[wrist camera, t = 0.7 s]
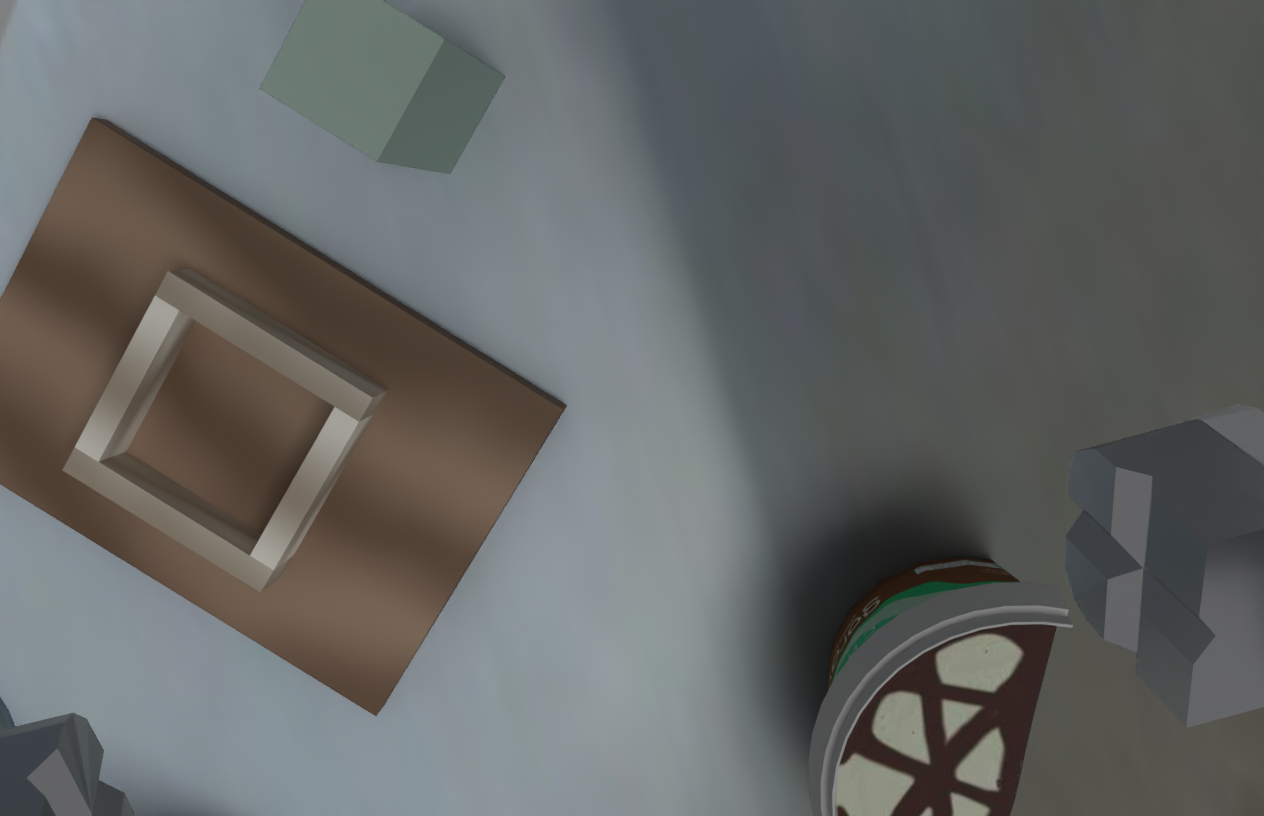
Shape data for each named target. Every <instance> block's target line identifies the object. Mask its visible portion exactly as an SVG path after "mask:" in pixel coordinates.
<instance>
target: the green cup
mask: <svg viewBox="0 0 1264 816" xmlns="http://www.w3.org/2000/svg"><path fill="white" fill-rule="evenodd" d="M12 727H15V726H14V723H13V720H12V718H11V716H10V713H9V711H8V709H7V708H6V706H5V704H4V703H3V701H2V699H1V698H0V730H4V729H8V728H12Z"/></svg>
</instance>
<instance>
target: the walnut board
mask: <svg viewBox="0 0 1264 816" xmlns="http://www.w3.org/2000/svg"><path fill="white" fill-rule="evenodd" d="M566 406H567V405H565V404H564V403H562V402H560V401H559V400H557V399H555V398H554V397H552V396H551V395H549V394H547V393H546V392H544V391H543V390H541V389H539V388H538V387H536V386H534V385H533V384H531V383H530V382H528V381H526V380H525V379H523V378H522V377H520V376H518V375H517V374H515V373H514V372H512V371H510V370H509V369H507V368H505V367H504V366H502V365H501V364H499V363H497V362H496V361H494V360H493V359H491V358H489V357H488V356H486V355H484V354H483V353H481V352H480V351H478V350H476V349H475V348H473V347H472V346H470V345H468V344H467V343H465V342H463V341H462V340H460V339H459V338H457V337H455V336H454V335H452V334H451V333H449V332H447V331H446V330H444V329H443V328H441V327H439V326H438V325H436V324H434V323H433V322H431V321H430V320H428V319H426V318H425V317H423V316H422V315H420V314H418V313H417V312H415V311H413V310H412V309H410V308H409V307H407V306H405V305H404V304H402V303H401V302H399V301H397V300H396V299H394V298H393V297H391V296H389V295H388V294H386V293H384V292H383V291H381V290H380V289H378V288H376V287H375V286H373V285H372V284H370V283H368V282H367V281H365V280H363V279H362V278H360V277H359V276H357V275H355V274H354V273H352V272H351V271H349V270H347V269H346V268H344V267H343V266H341V265H339V264H338V263H336V262H334V261H333V260H331V259H330V258H328V257H326V256H325V255H323V254H322V253H320V252H318V251H317V250H315V249H313V248H312V247H310V246H309V245H307V244H305V243H304V242H302V241H301V240H299V239H297V238H296V237H294V236H292V235H291V234H289V233H288V232H286V231H284V230H283V229H281V228H280V227H278V226H276V225H275V224H273V223H272V222H270V221H268V220H267V219H265V218H263V217H262V216H260V215H259V214H257V213H255V212H254V211H252V210H251V209H249V208H247V207H246V206H244V205H242V204H241V203H239V202H238V201H236V200H234V199H233V198H231V197H230V196H228V195H226V194H225V193H223V192H222V191H220V190H218V189H217V188H215V187H213V186H212V185H210V184H209V183H207V182H205V181H204V180H202V179H201V178H199V177H197V176H196V175H194V174H192V173H191V172H189V171H188V170H186V169H184V168H183V167H181V166H180V165H178V164H176V163H175V162H173V161H171V160H170V159H168V158H167V157H165V156H163V155H162V154H160V153H159V152H157V151H155V150H154V149H152V148H151V147H149V146H147V145H146V144H144V143H142V142H141V141H139V140H138V139H136V138H134V137H133V136H131V135H130V134H128V133H126V132H125V131H123V130H121V129H120V128H118V127H117V126H115V125H113V124H112V123H110V122H109V121H107V120H103V119H97V118H91V120H90V122H89V124H88V126H87V128H86V130H85V132H84V134H83V136H82V138H81V140H80V142H79V144H78V146H77V148H76V150H75V152H74V154H73V156H72V158H71V160H70V162H69V164H68V166H67V168H66V170H65V172H64V174H63V176H62V178H61V180H60V182H59V184H58V186H57V188H56V190H55V192H54V194H53V196H52V198H51V200H50V202H49V204H48V206H47V208H46V210H45V212H44V214H43V216H42V218H41V220H40V222H39V224H38V226H37V228H36V230H35V232H34V234H33V236H32V238H31V240H30V241H29V243H28V245H27V247H26V249H25V251H24V253H23V255H22V257H21V259H20V261H19V263H18V265H17V267H16V269H15V271H14V273H13V275H12V277H11V279H10V281H9V283H8V285H7V287H6V289H5V291H4V293H3V295H2V297H1V299H0V484H1V485H2V486H4V487H6V488H7V489H9V490H11V491H12V492H14V493H15V494H17V495H19V496H20V497H22V498H23V499H25V500H27V501H28V502H30V503H32V504H33V505H35V506H36V507H38V508H40V509H41V510H43V511H45V512H46V513H48V514H49V515H51V516H53V517H54V518H56V519H57V520H59V521H61V522H62V523H64V524H66V525H67V526H69V527H70V528H72V529H74V530H75V531H77V532H79V533H80V534H82V535H83V536H85V537H87V538H88V539H90V540H91V541H93V542H95V543H96V544H98V545H100V546H101V547H103V548H104V549H106V550H108V551H109V552H111V553H113V554H114V555H116V556H117V557H119V558H121V559H122V560H124V561H125V562H127V563H129V564H130V565H132V566H134V567H135V568H137V569H138V570H140V571H142V572H143V573H145V574H147V575H148V576H150V577H151V578H153V579H155V580H156V581H158V582H159V583H161V584H163V585H164V586H166V587H168V588H169V589H171V590H172V591H174V592H176V593H177V594H179V595H181V596H182V597H184V598H185V599H187V600H189V601H190V602H192V603H194V604H195V605H197V606H198V607H200V608H202V609H203V610H205V611H206V612H208V613H210V614H211V615H213V616H215V617H216V618H218V619H219V620H221V621H223V622H224V623H226V624H228V625H229V626H231V627H232V628H234V629H236V630H237V631H239V632H240V633H242V634H244V635H245V636H247V637H249V638H250V639H252V640H253V641H255V642H257V643H258V644H260V645H262V646H263V647H265V648H266V649H268V650H270V651H271V652H273V653H274V654H276V655H278V656H279V657H281V658H283V659H284V660H286V661H287V662H289V663H291V664H292V665H294V666H296V667H297V668H299V669H300V670H302V671H304V672H305V673H307V674H308V675H310V676H312V677H313V678H315V679H317V680H318V681H320V682H321V683H323V684H325V685H326V686H328V687H330V688H331V689H333V690H334V691H336V692H338V693H339V694H341V695H342V696H344V697H346V698H347V699H349V700H351V701H352V702H354V703H355V704H357V705H359V706H360V707H362V708H364V709H365V710H367V711H368V712H370V713H372V714H373V715H375V716H377V714H378V713H379V712H380V710H381V709H382V708H383V706H384V705H385V703H386V701H387V700H388V698H389V696H390V695H391V693H392V691H393V690H394V688H395V687H396V685H397V683H398V682H399V680H400V678H401V677H402V675H403V673H404V672H405V670H406V669H407V667H408V665H409V664H410V662H411V660H412V659H413V657H414V655H415V654H416V652H417V651H418V649H419V647H420V646H421V644H422V642H423V641H424V639H425V637H426V636H427V634H428V632H429V631H430V629H431V628H432V626H433V624H434V623H435V621H436V619H437V618H438V616H439V614H440V613H441V611H442V610H443V608H444V606H445V605H446V603H447V601H448V600H449V598H450V596H451V595H452V593H453V591H454V590H455V588H456V587H457V585H458V583H459V582H460V580H461V578H462V577H463V575H464V573H465V572H466V570H467V569H468V567H469V565H470V564H471V562H472V560H473V559H474V557H475V555H476V554H477V552H478V551H479V549H480V547H481V546H482V544H483V542H484V541H485V539H486V537H487V536H488V534H489V532H490V531H491V529H492V528H493V526H494V524H495V523H496V521H497V519H498V518H499V516H500V514H501V513H502V511H503V510H504V508H505V506H506V505H507V503H508V501H509V500H510V498H511V496H512V495H513V493H514V491H515V490H516V488H517V487H518V485H519V483H520V482H521V480H522V478H523V477H524V475H525V473H526V472H527V470H528V469H529V467H530V465H531V464H532V462H533V460H534V459H535V457H536V455H537V454H538V452H539V450H540V449H541V447H542V446H543V444H544V442H545V441H546V439H547V437H548V436H549V434H550V432H551V431H552V429H553V428H554V426H555V424H556V423H557V421H558V419H559V418H560V416H561V414H562V413H563V411H564V410H565V408H566Z"/></svg>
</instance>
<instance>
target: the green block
mask: <svg viewBox="0 0 1264 816" xmlns="http://www.w3.org/2000/svg"><path fill="white" fill-rule="evenodd" d="M504 78H505V76H504V75H502V74H501V73H499V72H497V71H496V70H494V69H493V68H491V67H489V66H488V65H486V64H485V63H483V62H481V61H480V60H478V59H477V58H475V57H473V56H472V55H470V54H469V53H467V52H465V51H464V50H462V49H460V48H459V47H457V46H456V45H454V44H452V43H451V42H449V41H448V40H446V39H444V38H443V37H441V36H440V35H438V34H436V33H435V32H433V31H432V30H430V29H428V28H427V27H425V26H424V25H422V24H420V23H419V22H417V21H415V20H414V19H412V18H411V17H409V16H407V15H406V14H404V13H403V12H401V11H399V10H398V9H396V8H395V7H393V6H391V5H390V4H388V3H386V2H385V1H383V0H306V1H305V3H304V4H303V6H302V8H301V10H300V12H299V14H298V16H297V18H296V20H295V22H294V23H293V25H292V27H291V29H290V31H289V33H288V35H287V37H286V39H285V40H284V42H283V44H282V46H281V48H280V50H279V52H278V54H277V56H276V58H275V59H274V61H273V63H272V65H271V67H270V69H269V71H268V73H267V75H266V76H265V78H264V80H263V82H262V84H261V86H260V88H259V89H260V90H262V91H264V92H265V93H267V94H269V95H270V96H272V97H273V98H275V99H277V100H278V101H280V102H281V103H283V104H285V105H286V106H288V107H289V108H291V109H293V110H294V111H296V112H298V113H299V114H301V115H302V116H304V117H306V118H307V119H309V120H310V121H312V122H314V123H315V124H317V125H318V126H320V127H322V128H323V129H325V130H327V131H328V132H330V133H331V134H333V135H335V136H336V137H338V138H339V139H341V140H343V141H344V142H346V143H347V144H349V145H351V146H352V147H354V148H356V149H357V150H359V151H360V152H362V153H364V154H365V155H367V156H368V157H370V158H372V159H373V160H375V161H376V162H382V163H388V164H394V165H400V166H406V167H412V168H418V169H424V170H430V171H436V172H442V173H448V174H450V173H451V171H452V169H453V167H454V166H455V164H456V162H457V160H458V159H459V157H460V155H461V153H462V152H463V150H464V148H465V146H466V145H467V143H468V141H469V139H470V138H471V136H472V134H473V132H474V130H475V129H476V127H477V125H478V123H479V122H480V120H481V118H482V116H483V115H484V113H485V111H486V109H487V108H488V106H489V104H490V102H491V100H492V99H493V97H494V95H495V93H496V92H497V90H498V88H499V86H500V85H501V83H502V81H503V79H504Z"/></svg>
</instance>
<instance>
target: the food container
mask: <svg viewBox="0 0 1264 816" xmlns="http://www.w3.org/2000/svg"><path fill="white" fill-rule="evenodd" d="M1068 612H1069V608H1068V606H1067V603H1066V601H1065V599H1064V596H1063V594H1062V592H1061V589H1060V587H1059V586H1054V585H1046V584H1038V583H1030V582H1020V581H1019V580H1017V579H1016V578H1015V577H1013V576H1012V575H1011V574H1009V573H1008V572H1007V571H1005V570H1004V569H1003V568H1002V567H1000V566H999V565H998V564H996V563H995V562H994V561H992V560H985V559H977V558H968V557H953V558H946V559H939V560H932V561H925V562H918V563H916V564H914V565H912V566H910V567H908V568H905V569H903V570H901V571H899V572H897V573H895V574H893V575H890V576H888V577H886V578H884V579H882V580H880V581H879V582H878V583H877V584H876V585H875V586H874V587H873V588H872V589H871V590H869V591H868V592H867V593H866V594H865V595H864V596H863V597H862V598H861V599H860V600H859V601H858V602H857V603H855V604H854V605H853V606H852V607H851V609H850V611H849V613H848V614H847V616H846V618H845V620H844V621H843V623H842V625H841V627H840V628H839V630H838V632H837V634H836V637H835V640H834V643H833V646H832V649H831V654H830V661H829V668H828V692H827V694H826V696H825V698H824V700H823V702H822V704H821V707H820V710H819V713H818V716H817V719H816V723H815V726H814V729H813V732H812V738H811V745H810V752H809V760H808V773H809V794H810V799H811V803H812V808H813V813H814V816H1010V813H1011V810H1012V807H1013V804H1014V801H1015V797H1016V793H1017V788H1018V784H1019V779H1020V774H1021V770H1022V765H1023V760H1024V755H1025V751H1026V746H1027V742H1028V738H1029V733H1030V729H1031V725H1032V721H1033V716H1034V712H1035V708H1036V704H1037V700H1038V696H1039V693H1040V689H1041V685H1042V681H1043V677H1044V673H1045V670H1046V666H1047V662H1048V658H1049V654H1050V650H1051V646H1052V643H1053V639H1054V635H1055V631H1056V627H1057V626H1062V627H1070V628H1072V627H1073V624H1072V623H1071V622H1070V620H1069V619H1068V617H1067V615H1068Z"/></svg>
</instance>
